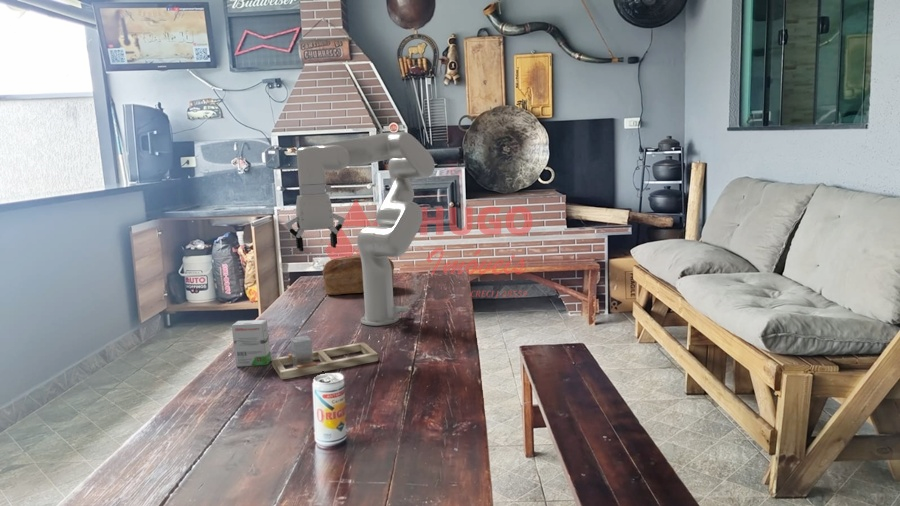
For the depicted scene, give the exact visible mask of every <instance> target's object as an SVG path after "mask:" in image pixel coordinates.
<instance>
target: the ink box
mask: <svg viewBox="0 0 900 506" xmlns="http://www.w3.org/2000/svg"><path fill="white" fill-rule="evenodd" d="M231 332H232V339H233V340H232V341H233V348H234V351H233V352H234V358H235V366H236V367H237V368H238V367H256V366H257V367H259V366H268V365H269V363H270V362H272V354H271V344H270V337H269V336H270V335H269V327H268V319H260V320H259V319H253V320H237V321H235V323H233V324H232V325H231Z"/></svg>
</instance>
